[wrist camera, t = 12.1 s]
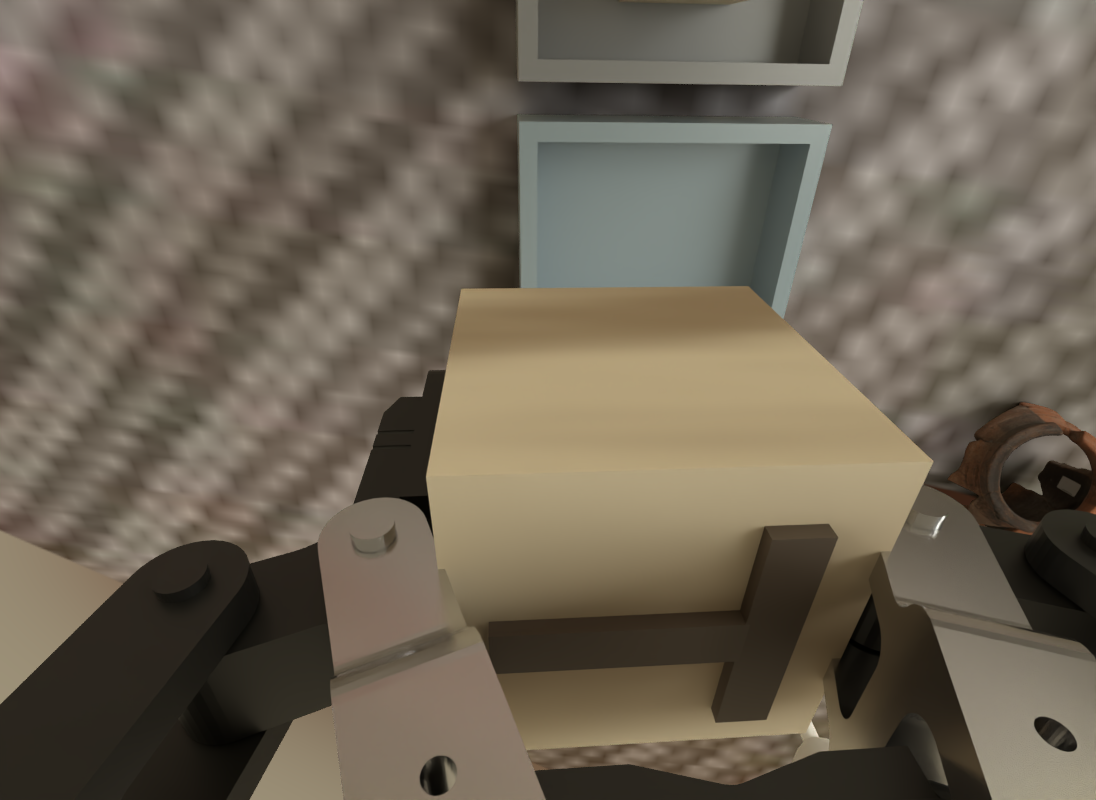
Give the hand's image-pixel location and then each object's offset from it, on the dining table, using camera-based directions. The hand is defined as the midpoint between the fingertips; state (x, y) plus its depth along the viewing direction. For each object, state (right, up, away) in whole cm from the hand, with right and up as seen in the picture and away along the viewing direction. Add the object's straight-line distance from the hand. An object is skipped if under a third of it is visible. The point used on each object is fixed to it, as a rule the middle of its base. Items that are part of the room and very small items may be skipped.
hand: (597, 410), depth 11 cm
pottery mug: (+32, -4, +30) cm, 44 cm away
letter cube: (0, 0, 0) cm, 0 cm away
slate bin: (+4, +10, +20) cm, 22 cm away
